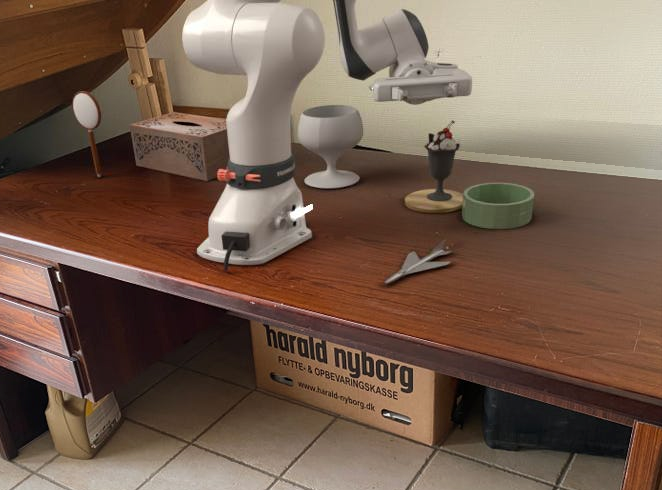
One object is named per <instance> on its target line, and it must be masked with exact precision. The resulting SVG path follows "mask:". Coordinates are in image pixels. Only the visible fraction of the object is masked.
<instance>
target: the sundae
mask: <svg viewBox="0 0 662 490" xmlns="http://www.w3.org/2000/svg"><path fill="white" fill-rule="evenodd" d="M455 123H456V121H454V120H451V121H450V123H449V124H448V125H447V126H446V127H444V128H442V130H440V131H438V132H436V133H431V132H429V133H428V143H426V144H425V145H424V148H425V149H426V150H427V157H428V167H429V174H430V175H431V177H433V179H435V180H436V182H437V183H436V188H435V189H436V191H435V192H434V193H430V194H428V195H427V198H428V199H429V200H433V201H446V200H449V199H451V198H452V195H451V194H449V193H445V192H444V190H443V189H444V181H445V180H446V179H448V178H449V177H450V175H451V174H452V171H453V167H454V161H455V156H456V152H457V151H458V150H460V146H461V144H460V143H459V142H458V143H456V140H455V139H454V138H453V132H451V130H450V128H451V126H452V125H453V124H455Z"/></svg>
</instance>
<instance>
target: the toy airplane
mask: <svg viewBox="0 0 662 490" xmlns="http://www.w3.org/2000/svg"><path fill="white" fill-rule="evenodd" d="M446 241H447V238H445V239H443V240H442V241H440V242H439V243H438V244H437V245H436V246H435V247H434V248H433V249H432V250H431V251H430V252H429V254H427V255H426V256H424V257H422V258H420V257H419V256H418V254H417V253H416V250H415V251H411V252H409V253H408V254H407V255H406V258H405V260H404V262H403V264H402V266H401V268H400V269H399V270H398V271H397V272H396V273H395V274H392V275H391V276H390V277H388V278H387V279H386V280H385V281H383V285H385V286H386V285H390V284H392V283H394V282H397V281H398V280H400V279H402V278H403V277H405V276H407V275H409V274H413V273H418V272H422V271H427V270H430V269H435V268H438V267H439V268H440V267H443V266H447V265H449V264H450V263H451V262H452V261H450V260H449V261H447V260H446V261H433V260H434V259H436V258H437V257H440V256H444V255H448V254H450V253H451V252H453V250H449V246H447V247H446V249H447V250H444V249H443V248H444V245H445V243H446ZM455 244H457V242H455ZM450 245H451V247H452V246H453V243H451V244H450Z"/></svg>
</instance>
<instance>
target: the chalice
mask: <svg viewBox="0 0 662 490" xmlns="http://www.w3.org/2000/svg"><path fill="white" fill-rule="evenodd" d="M362 119H363V118H362V117H361V113H360V112H359V110H358V108H357V107H355V106H352V105H347V104H346V105H345V104H327V105H317V106H313V107H309V108H307V109H305V110H304V111H303V112H302V113H301V115H300V118H299V121H298V127H297V139H298V140H299V143H300V145H302V147H303V148H305V149H307V151H310V152H312V153H314V154H316V155H319V156H320V157H321V158H323V159H324V161H325V162H326V166H327V167H326V170H322V171H317V172H313V173H311V174H309V175H307V177H305V178H304V183H305V185H307V186H310V187H314V188H319V189H339V188H344V187H348V186H352V185H354V184H356V183H358V182H359V180H360V175H358V174H357V173H356V172H354V171H353V172H352V171H349V170H341V169H340V170H339V169H337V166H336V165H337V161H338V160H339V158H340V157H341V156H343V155H344V154H345V153H347V152H348V151H350V150H351V149H353V148H355V147H356V146H357V145H358V144H359V143H360V142H361V140H362V139H363V136H364V123H363V120H362Z"/></svg>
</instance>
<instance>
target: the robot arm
mask: <svg viewBox="0 0 662 490" xmlns="http://www.w3.org/2000/svg"><path fill="white" fill-rule="evenodd" d="M332 2H333V10H334V15H335V21H336V28H337V35H338V42H339V58H340V62H341V66H342V68H343V70H344V71H345V73H346V74H347V76H348V77H349V78H351V79H355V80H358V81H364V82H365V81H366V80H368V79H369V78H371V77H372V76H374V75H376V74H377V73H378V72H380V71H383V70H385V69H386V68H388V77H380V78H375V79H374V80H373V83H370V84H369V86H368V89H369V91H371V92H373V93H372V95H373V101H374V102H378V103H383V102H385V103H386V102H398V101H400V102H404V103H406V104H409V105H413V106H417V105H421V104H424V103H426V102H431V101H434V100H439V99H444V98H456V97H457V98H459V97H469V96H471V94H472V90H473V77H472V75H471V74H469V73H468V72H467V71H465V70H463V69H460V68H459V66H458V64H456V63H447V62H446V63H445V62H444V63H442V62H434V61H431V60H426V58H427V57H428V54H429V53H428V52H429V42H428V41H429V40H428V37H427V34H426V31H425V29H424V26H423V24H422V23H421V20H419V18H418V16H416V14H414V13H413V12H411V11H410V10H407V9H404V8H401V9H399V10H397V11H394V12H392V13H390V14H388V15H386V16H384V17H383V18H381V19H380V20H377V21H375V22H373V23H372V24H369V25H367V26H365V27H364V28H361V29H358V22H357V15H356V13H357V12H356V3H357V0H332ZM325 37H326V36H325V30H324V26H323V23H322V21H321V19H320V17H319V15H318V14H317V12H316V11H315V10H313V9H312V8H310V7H306V6H302V5H299V4H294V3H289V2H281V0H206V1H205V2H203V3H202V4H201V5H200V6H198V7H196V8H195V9H193V10H192V11H191V12H190V13H189V14H188V15H187V17H186V19H185V22H184V25H183V27H182V35H181V40H182V47H183V51H184V53H185V56H186V58H187V60H188V61H189V63H190V64H191V65H192V66H194V67H195V68H197V69H200V70H203V71H206V72H208V73H209V72H210V73H213V74H216V75H225V76H227V75H230V76H246V77H247V89H246V93H245V96H244V97H243V98H241V99H240V100H239V101H237V102H235V103H234V104H233V105H232V107H231V108H230V109H229V110H228V112H227V115H226V118H225V119H226V125H227V135H228V145H229V154H230V158H229V160H228V165H227V170H224V169H219V170H218V173H217V180H218V181H220V182H223V181H225V183H226V185H225V187H224V190H223V192H222V193H221V195H220V197H219V199H218V200H217V202H216V204H215V207H214V209H213V210H212V212H211V214H210V215H209V218H208V223H207V224H208V226H207V227H208V231H207V233H208V236H207V237H206V239H205V240H204V241H202V243H200V245H199V246H198V247H197V248H196V255H198V256H199V257H201V258H203V259H206V260H208V261H213V262H217V263H222V264H223V271H226V272H228V271H229V265H239V266H256V265H263V264H265V263H267V262H269V261H271V260H273V259H275V258H276V257H278V256H280V255H282V254H284V253H286V252H288V251H290V250H291V249H293V248H295V247H297V246H298V245H300V244H302V243H304V242H306V241H308V240H310V239H312V238H313V232H312V230H311V229H310V228H308V227H307V222H306V213H308V212H311V210H313V209H314V208H313V204H310V205H307V206H306V207H304V201H303V193H302V191H301V189H300V188H299V187H298V185H297V184H296V181H295V178H294V177H295V175H296V162H295V155H294V154H293V153H292V141H291V139H292V138H291V137H292V136H291V119H292V117H291V116H292V115H291V114H292V107H293V103H294V99H295V95H296V94H297V91H298V88H299V87H300V85H301V83H302V82H303V81H304V80H305V78H306V77H307V75H309V74H310V73H311V72H312V71H313V70H314V69H315V68H316V67H317V65H318V64H319V62H320V60H321V59H322V56H323V53H324V50H325V41H326V38H325Z"/></svg>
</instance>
